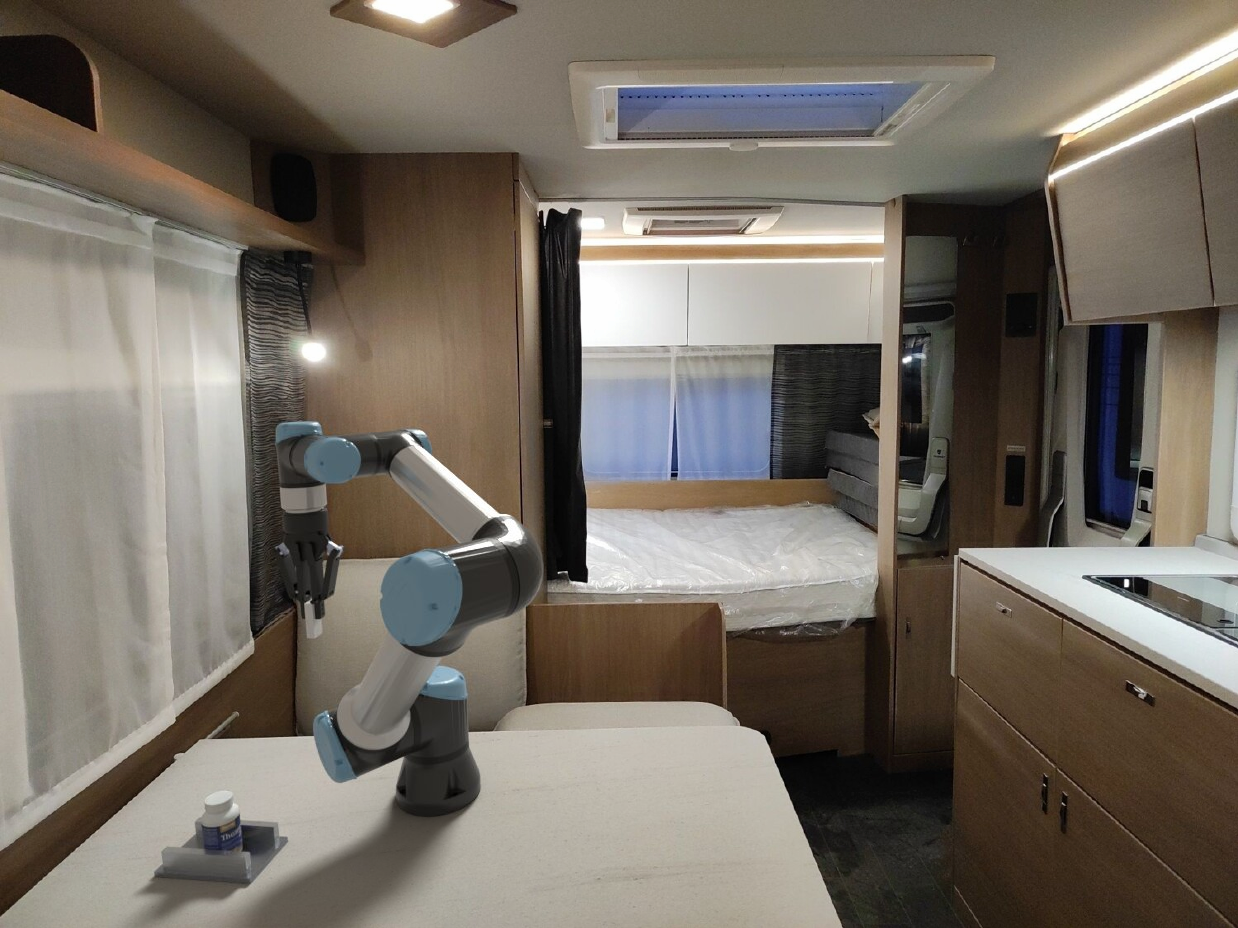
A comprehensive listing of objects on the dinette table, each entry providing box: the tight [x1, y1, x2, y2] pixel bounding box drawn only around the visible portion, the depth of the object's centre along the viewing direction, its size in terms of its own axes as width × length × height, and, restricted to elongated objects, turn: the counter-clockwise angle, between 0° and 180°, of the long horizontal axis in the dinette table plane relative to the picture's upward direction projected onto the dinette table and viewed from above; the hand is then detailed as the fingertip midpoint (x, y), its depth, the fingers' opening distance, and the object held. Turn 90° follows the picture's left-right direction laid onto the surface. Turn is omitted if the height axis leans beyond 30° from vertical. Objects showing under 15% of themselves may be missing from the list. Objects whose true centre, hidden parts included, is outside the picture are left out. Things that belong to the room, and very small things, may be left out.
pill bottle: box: [201, 790, 243, 852], centre depth 116 cm, size 5×5×10 cm
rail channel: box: [153, 816, 289, 885], centre depth 116 cm, size 16×10×4 cm, turn 83°
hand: (314, 635), depth 132 cm, fingers closed
